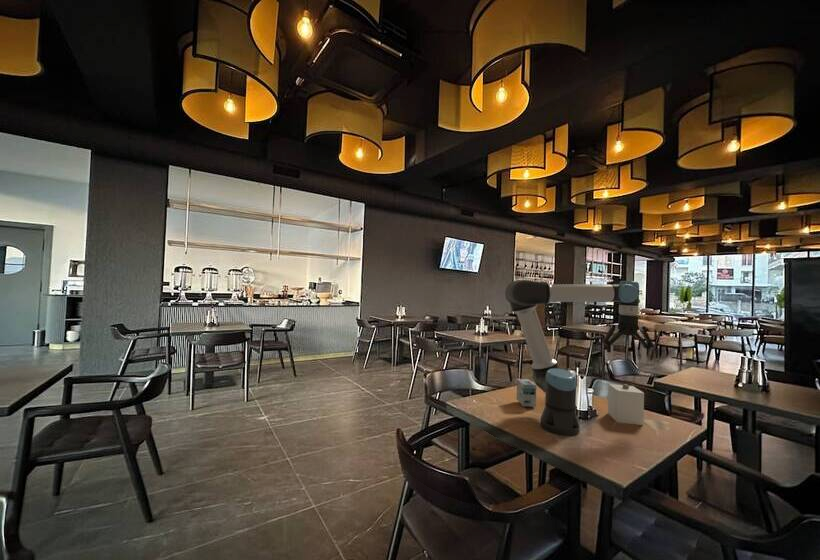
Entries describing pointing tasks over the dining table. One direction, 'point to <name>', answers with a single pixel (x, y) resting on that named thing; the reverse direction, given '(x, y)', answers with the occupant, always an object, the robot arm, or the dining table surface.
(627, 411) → the cover
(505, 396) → the dining table surface
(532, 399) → the light bulb box
